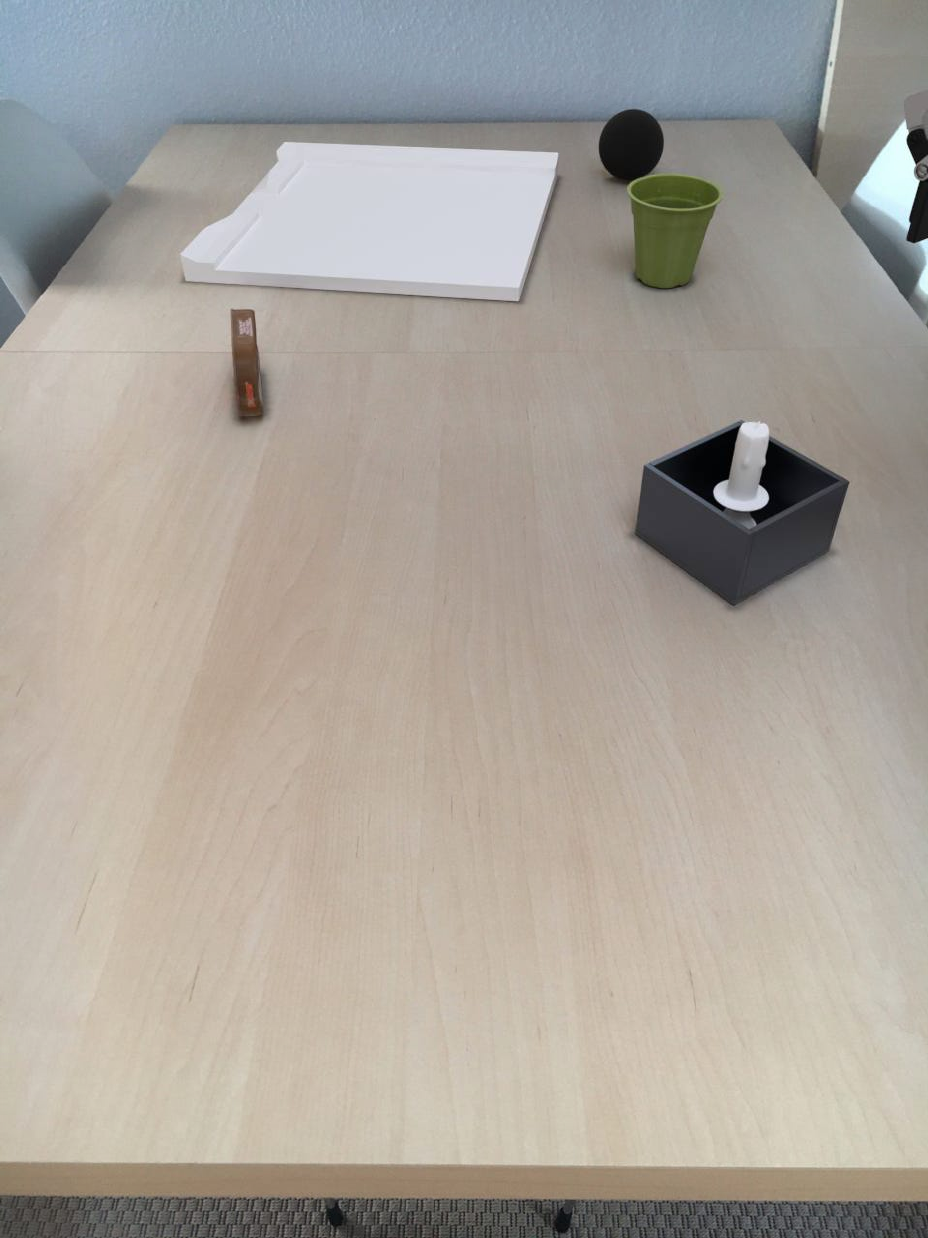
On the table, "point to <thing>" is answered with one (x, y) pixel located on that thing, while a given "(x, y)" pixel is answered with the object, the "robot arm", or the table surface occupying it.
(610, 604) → the table surface
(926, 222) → the robot arm
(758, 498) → the candle
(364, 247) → the tray
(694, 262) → the plant pot
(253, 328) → the brown thin box
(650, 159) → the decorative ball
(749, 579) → the bin
